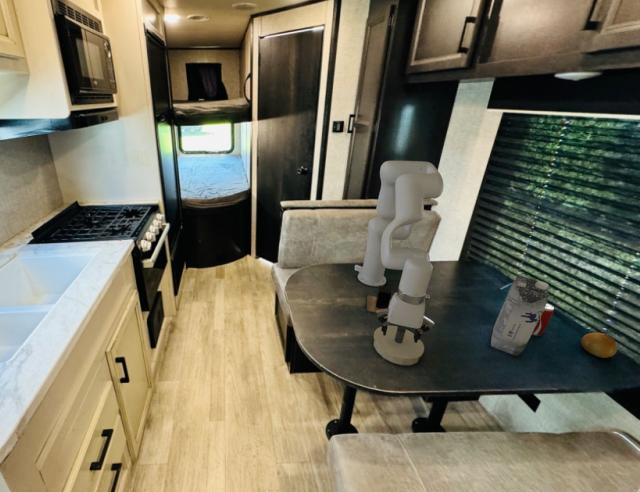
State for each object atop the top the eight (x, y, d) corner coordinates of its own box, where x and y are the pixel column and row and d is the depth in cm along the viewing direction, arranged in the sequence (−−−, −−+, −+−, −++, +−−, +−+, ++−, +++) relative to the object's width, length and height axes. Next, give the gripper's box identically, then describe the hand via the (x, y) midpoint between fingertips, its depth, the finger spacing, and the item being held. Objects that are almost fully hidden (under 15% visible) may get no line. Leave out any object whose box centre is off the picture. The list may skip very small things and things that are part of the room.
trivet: (366, 311, 127) (367, 310, 127) (367, 296, 137) (367, 295, 136) (396, 317, 124) (396, 316, 124) (394, 301, 133) (394, 300, 133)
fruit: (623, 362, 100) (625, 337, 100) (588, 355, 103) (590, 331, 104) (607, 357, 107) (609, 334, 108) (575, 351, 110) (576, 328, 111)
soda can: (542, 338, 113) (556, 312, 108) (523, 332, 116) (536, 306, 110) (541, 330, 116) (554, 304, 111) (523, 325, 119) (535, 299, 114)
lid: (365, 343, 107) (368, 328, 105) (384, 321, 117) (388, 307, 115) (413, 369, 97) (418, 353, 95) (430, 343, 107) (435, 328, 104)
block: (375, 307, 129) (378, 291, 125) (375, 301, 133) (378, 285, 129) (387, 310, 127) (391, 293, 124) (387, 303, 131) (390, 287, 128)
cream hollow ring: (366, 349, 109) (367, 341, 107) (383, 328, 118) (385, 321, 116) (410, 373, 99) (412, 365, 98) (425, 349, 108) (428, 342, 107)
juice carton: (487, 347, 109) (515, 282, 98) (490, 331, 116) (517, 269, 105) (520, 360, 104) (553, 293, 92) (521, 343, 111) (553, 279, 99)
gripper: (439, 294, 99) (426, 335, 107) (380, 283, 105) (372, 323, 112) (444, 308, 93) (429, 351, 100) (381, 296, 99) (372, 337, 106)
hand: (399, 336), depth 106 cm, fingers open, 9 cm apart
